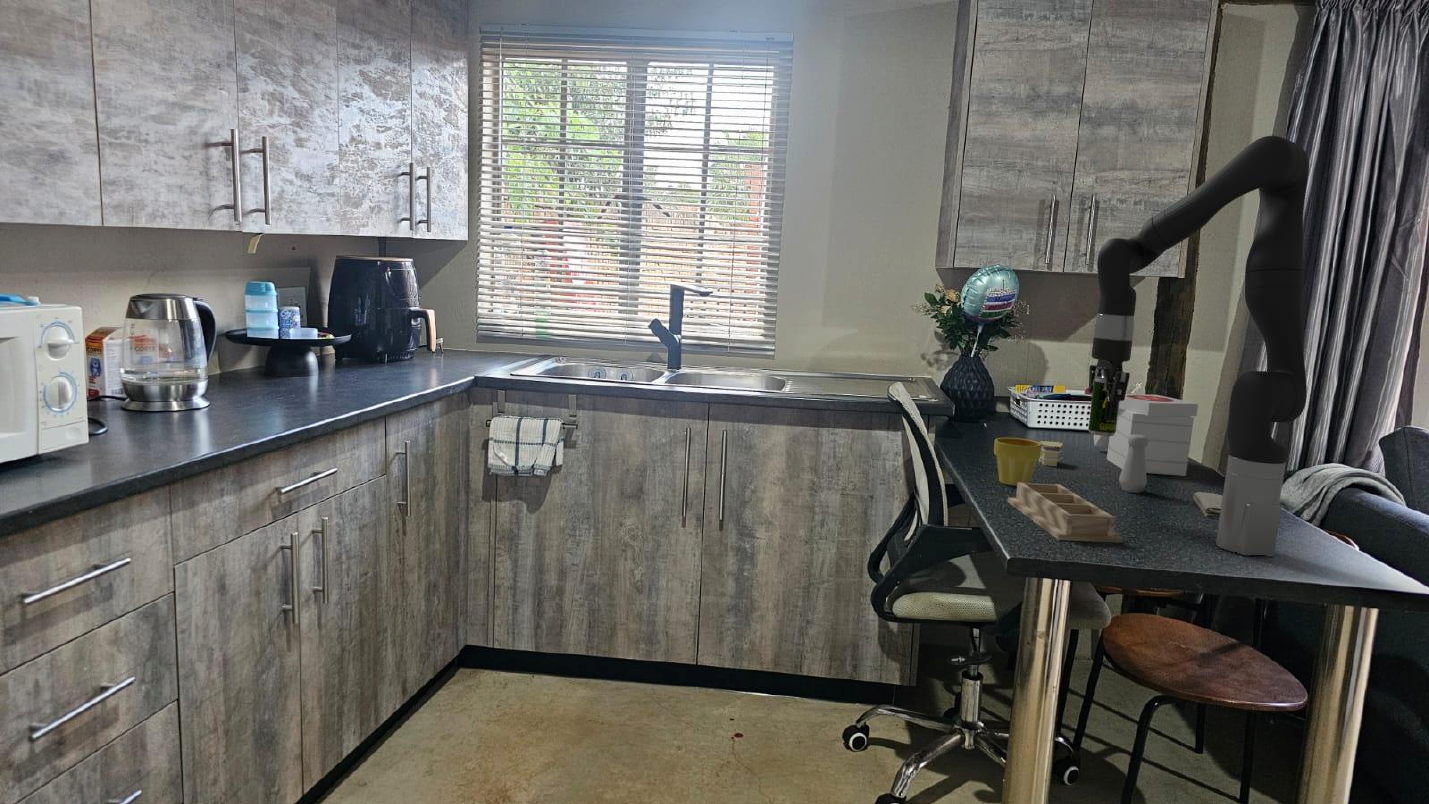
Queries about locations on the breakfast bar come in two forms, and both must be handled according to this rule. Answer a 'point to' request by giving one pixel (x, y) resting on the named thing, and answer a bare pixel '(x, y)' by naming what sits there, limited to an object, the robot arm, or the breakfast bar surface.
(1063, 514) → the wooden compartment organizer
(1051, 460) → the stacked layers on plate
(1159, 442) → the pizza boxes
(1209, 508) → the washcloth
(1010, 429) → the breakfast bar surface
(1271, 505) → the robot arm
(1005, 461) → the plant pot
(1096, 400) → the beer can
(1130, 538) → the breakfast bar surface
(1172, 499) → the breakfast bar surface
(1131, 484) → the salt shaker
